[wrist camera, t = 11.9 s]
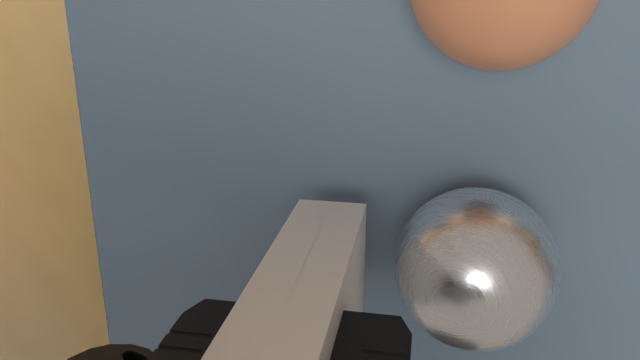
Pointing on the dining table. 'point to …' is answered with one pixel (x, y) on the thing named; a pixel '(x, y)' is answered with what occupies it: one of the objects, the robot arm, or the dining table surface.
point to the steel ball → (477, 269)
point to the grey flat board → (348, 153)
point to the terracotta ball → (502, 29)
